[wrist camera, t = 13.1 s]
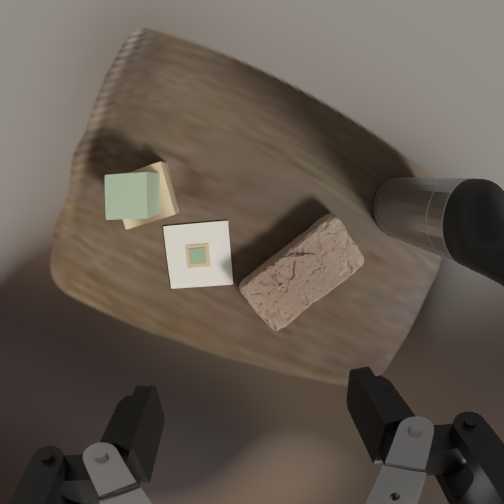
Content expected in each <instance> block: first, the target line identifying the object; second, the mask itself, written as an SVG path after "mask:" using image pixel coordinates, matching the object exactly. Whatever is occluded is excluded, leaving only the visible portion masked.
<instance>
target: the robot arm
mask: <svg viewBox="0 0 504 504" xmlns="http://www.w3.org/2000/svg"><path fill="white" fill-rule="evenodd" d="M373 214H374V218H375V221H376V223H377V225H378V227H379V228H380V229H381V230H382V231H383V232H384V233H385V234H387V235H389V236H391V237H394V238H396V239H399V240H401V241H404V242H406V243H409V244H411V245H414V246H416V247H419V248H421V249H424V250H426V251H429V252H431V253H434V254H436V255H439V256H441V257H444V258H446V259H449V260H451V261H453V262H456V263H458V264H461V265H463V266H465V267H468V268H469V269H471V270H473V271H475V272H478V273H480V274H482V275H484V276H486V277H488V278H490V279H492V280H494V281H495V282H497V283H499V284H501V285H502V286H504V191H503V190H502V189H501V188H500V187H499V186H498V185H497V184H495V183H493V182H492V181H489V180H484V179H466V178H431V177H395V178H391V179H389V180H387V181H385V182H384V183H383V184H382V185H381V186H380V187H379V189H378V190H377V192H376V194H375V197H374V201H373ZM347 391H348V392H347V407H348V411H349V413H350V415H351V417H352V419H353V421H354V424H355V426H356V428H357V430H358V432H359V434H360V436H361V438H362V440H363V443H364V445H365V447H366V449H367V451H368V453H369V456H370V458H371V460H372V462H373V464H376V463H380V462H383V463H384V465H383V467H382V469H381V472H380V474H379V476H378V479H377V481H376V483H375V485H374V487H373V490H372V491H371V494H370V496H369V498H368V500H367V502H366V504H417V503H418V500H419V497H420V494H421V491H422V488H423V484H424V481H425V477H426V476H429V475H435V477H436V479H437V481H438V483H439V485H440V486H441V488H442V491H443V492H444V494H445V496H446V498H447V500H448V502H449V504H504V444H503V442H502V441H501V440H500V438H499V437H498V436H497V435H496V433H495V432H494V431H493V429H492V428H491V427H490V426H489V424H488V423H487V422H486V421H485V420H484V418H483V417H482V416H481V415H479V414H477V413H474V412H463V413H460V414H459V415H457V416H456V417H455V419H454V421H453V424H445V425H433V424H432V423H431V422H430V421H429V420H427V419H425V418H423V417H416V416H415V415H414V413H413V412H412V411H411V409H410V408H409V407H408V405H407V404H406V402H405V401H404V400H403V398H402V397H401V396H400V394H399V393H398V391H397V390H395V387H394V386H393V384H392V383H391V382H390V381H389V380H387V379H386V378H384V377H383V376H381V375H380V376H375V375H374V374H373V372H372V371H371V369H370V368H369V367H363V368H357V369H352V370H350V373H349V382H348V390H347ZM164 422H165V419H164V412H163V409H162V405H161V402H160V399H159V395H158V392H157V389H156V387H155V385H137V386H136V388H135V390H134V392H133V394H132V396H125V397H124V398H123V399H122V400H121V401H120V402H119V403H118V405H117V407H116V409H115V413H113V415H112V418H111V420H110V422H109V424H108V426H107V428H106V430H105V432H104V435H103V437H102V439H101V441H100V443H96V444H93V445H91V446H89V447H88V448H87V449H86V450H85V451H84V453H83V454H81V455H67V456H64V454H63V453H62V451H61V450H60V449H59V448H57V447H55V446H45V447H42V448H40V449H38V450H37V451H36V452H35V453H34V455H33V457H32V458H31V460H30V462H29V464H28V466H27V468H26V470H25V472H24V474H23V476H22V478H21V480H20V482H19V484H18V486H17V488H16V490H15V492H14V495H13V497H12V499H11V501H10V503H9V504H95V503H100V504H151V502H150V501H149V499H148V498H147V497H146V495H145V493H144V492H143V491H142V489H141V487H140V482H149V483H150V481H151V477H152V472H153V468H154V464H155V460H156V456H157V452H158V448H159V444H160V440H161V436H162V432H163V428H164Z"/></svg>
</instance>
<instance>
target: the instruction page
mask: <svg viewBox="0 0 504 504" xmlns="http://www.w3.org/2000/svg"><path fill="white" fill-rule="evenodd" d="M163 230H164V239H165V247H166V255H167V263H168V270H169V277H170V284H171V289H173V288H188V287H203V286H217V285H231V284H233V275H232V263H231V252H230V240H229V228H228V221H216V222H204V223H193V224H182V225H171V226H163Z"/></svg>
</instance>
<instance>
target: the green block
mask: <svg viewBox="0 0 504 504" xmlns="http://www.w3.org/2000/svg"><path fill="white" fill-rule="evenodd" d="M105 209H106V220H114V219H147V218H150V217H152V216H155V215H157V214H159V213H160V173H151V172H138V173H123V174H110V175H105Z"/></svg>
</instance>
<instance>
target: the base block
mask: <svg viewBox="0 0 504 504" xmlns="http://www.w3.org/2000/svg"><path fill="white" fill-rule="evenodd" d="M138 172H151V173H160V213H159V214H157V215H155V216H152V217H150V218H147V219H123V222H124V225H125V228H126V230H127V229H130V228H133V227H136V226H140V225H143V224H146V223H149V222H152V221H155V220H159V219H162V218H165V217H169V216H172V215H175V214H177V213H179V212H180V209H179V205H178V202H177V198H176V194H175V191H174V187H173V184H172V180H171V176H170V172H169V169H168V165H167V163H165V162H161V161H160V162H157V163H154V164H151V165H148V166H145V167H142V168H140V169H137V170H134V171H131V172H128V173H138Z"/></svg>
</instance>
